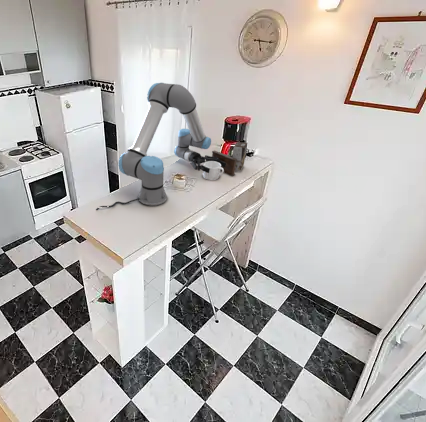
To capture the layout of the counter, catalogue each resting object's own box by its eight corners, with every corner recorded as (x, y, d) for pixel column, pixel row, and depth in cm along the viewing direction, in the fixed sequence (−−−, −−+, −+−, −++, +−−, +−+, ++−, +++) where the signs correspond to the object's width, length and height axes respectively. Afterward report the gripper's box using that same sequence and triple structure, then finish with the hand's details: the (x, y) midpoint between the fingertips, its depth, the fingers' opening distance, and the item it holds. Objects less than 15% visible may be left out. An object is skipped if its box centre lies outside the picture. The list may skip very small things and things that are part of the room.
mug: (198, 176, 180) (199, 164, 176) (208, 171, 186) (210, 159, 181) (217, 183, 172) (218, 171, 167) (227, 177, 177) (229, 165, 173)
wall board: (210, 166, 192) (211, 151, 186) (213, 165, 193) (214, 150, 187) (231, 176, 178) (234, 160, 173) (235, 175, 180) (237, 159, 174)
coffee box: (240, 172, 182) (244, 147, 174) (229, 170, 185) (233, 146, 177) (243, 166, 189) (248, 142, 180) (233, 164, 192) (237, 141, 183)
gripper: (206, 157, 196) (230, 168, 181) (177, 167, 186) (201, 179, 170) (207, 147, 192) (232, 156, 177) (178, 156, 182) (202, 167, 166)
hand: (217, 167), depth 174 cm, fingers open, 13 cm apart
